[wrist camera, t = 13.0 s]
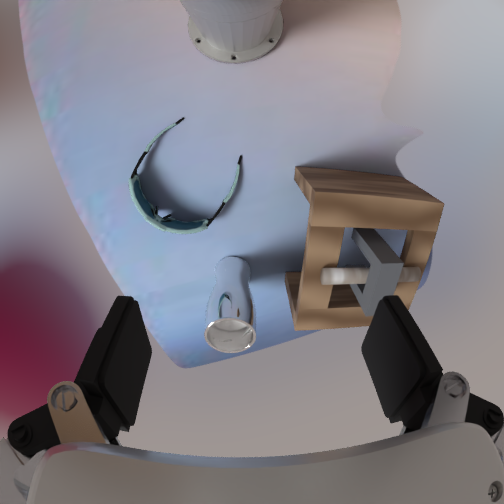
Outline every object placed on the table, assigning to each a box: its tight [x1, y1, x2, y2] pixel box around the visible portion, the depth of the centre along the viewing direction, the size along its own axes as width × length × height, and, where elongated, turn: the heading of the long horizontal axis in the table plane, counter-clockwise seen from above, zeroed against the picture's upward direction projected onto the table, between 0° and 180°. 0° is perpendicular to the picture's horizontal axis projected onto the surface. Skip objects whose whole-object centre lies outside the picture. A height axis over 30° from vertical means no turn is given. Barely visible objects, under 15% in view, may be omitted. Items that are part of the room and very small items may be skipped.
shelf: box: [285, 167, 444, 330], centre depth 38 cm, size 20×18×14 cm
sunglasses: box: [129, 118, 242, 234], centre depth 38 cm, size 14×15×5 cm
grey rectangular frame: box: [346, 228, 404, 316], centre depth 34 cm, size 8×3×9 cm, turn 179°
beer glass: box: [204, 256, 256, 353], centre depth 41 cm, size 7×7×15 cm
